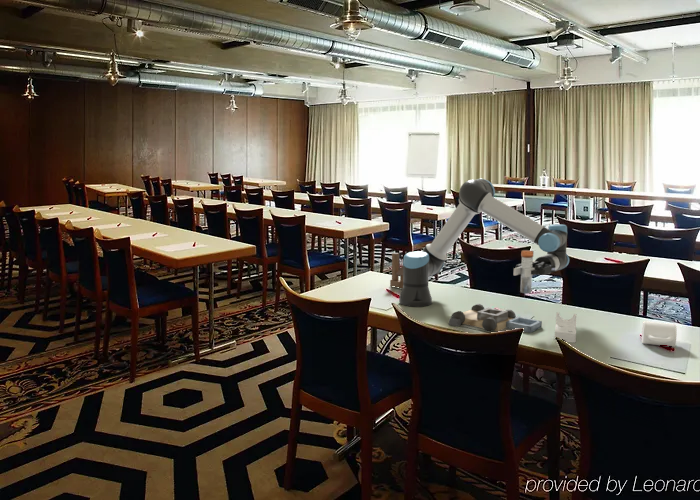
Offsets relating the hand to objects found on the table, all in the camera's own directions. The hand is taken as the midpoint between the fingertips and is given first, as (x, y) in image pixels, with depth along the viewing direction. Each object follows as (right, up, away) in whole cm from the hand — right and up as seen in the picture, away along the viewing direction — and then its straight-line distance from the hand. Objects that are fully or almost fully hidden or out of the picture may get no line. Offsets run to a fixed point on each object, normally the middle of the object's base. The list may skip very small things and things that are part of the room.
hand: (520, 272), depth 207 cm
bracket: (+16, -24, -4) cm, 29 cm away
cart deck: (-11, -21, +14) cm, 27 cm away
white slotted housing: (+44, -26, -15) cm, 53 cm away
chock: (-23, -21, +11) cm, 33 cm away
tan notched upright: (-39, -11, +78) cm, 88 cm away
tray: (+4, -22, +7) cm, 23 cm away
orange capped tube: (+4, -8, +5) cm, 10 cm away
